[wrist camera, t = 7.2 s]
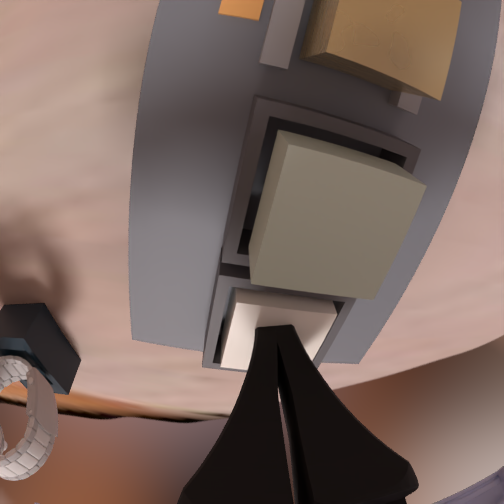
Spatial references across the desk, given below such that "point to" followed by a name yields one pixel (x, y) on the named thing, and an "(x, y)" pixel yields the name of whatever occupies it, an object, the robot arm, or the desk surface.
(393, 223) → the button sage
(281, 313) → the button cream
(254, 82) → the control panel
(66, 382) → the watch
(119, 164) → the desk surface
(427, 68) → the slider knob
